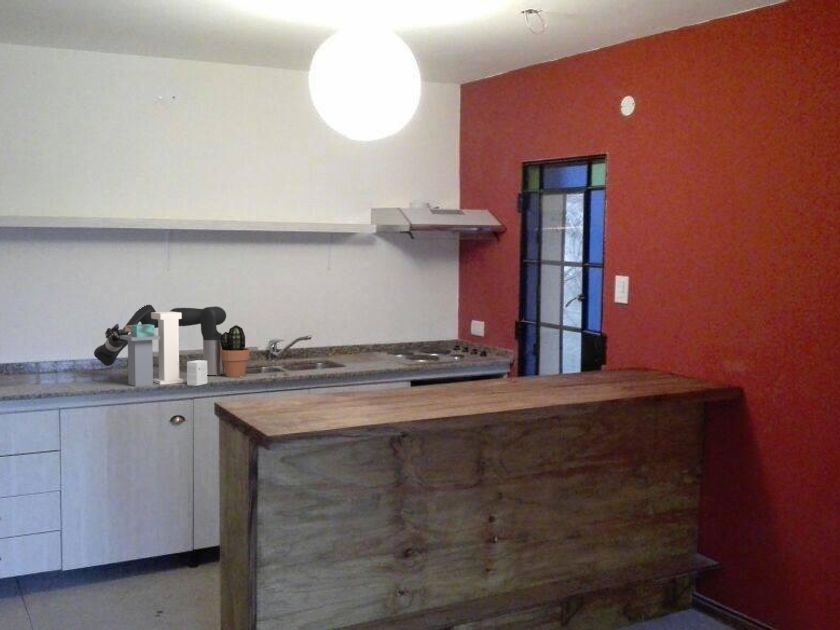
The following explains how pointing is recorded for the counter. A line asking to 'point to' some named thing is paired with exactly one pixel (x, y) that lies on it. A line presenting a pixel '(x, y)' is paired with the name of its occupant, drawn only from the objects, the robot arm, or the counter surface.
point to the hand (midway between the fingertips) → (127, 325)
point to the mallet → (140, 330)
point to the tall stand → (168, 347)
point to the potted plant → (234, 352)
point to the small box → (197, 372)
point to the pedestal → (140, 360)
